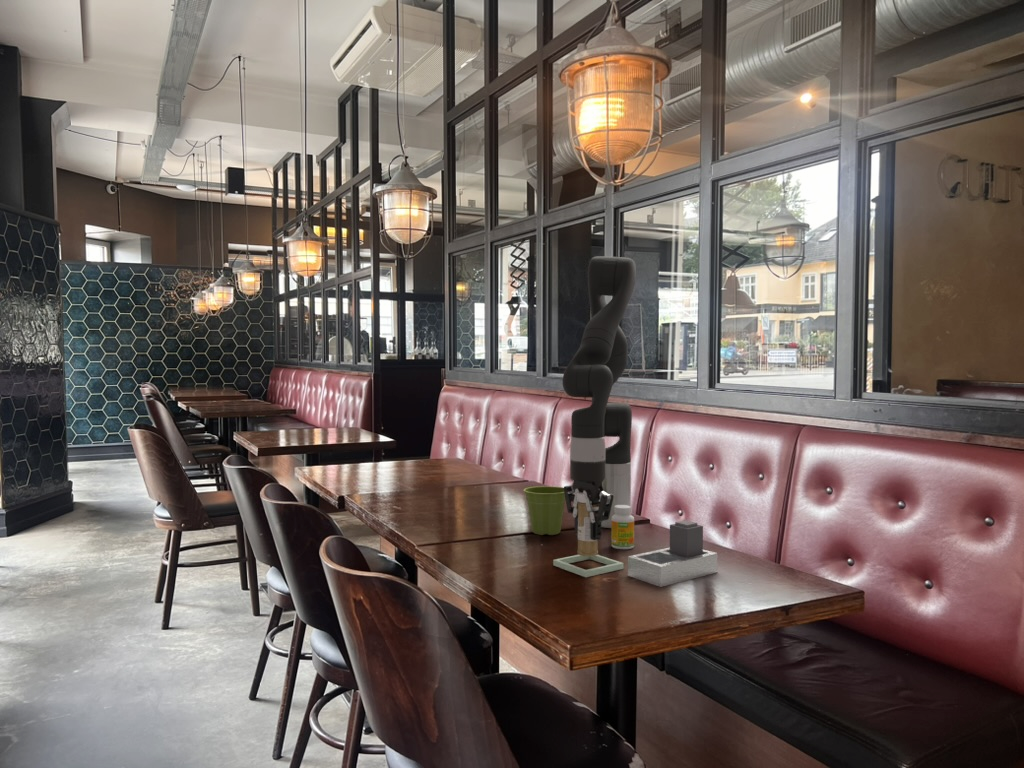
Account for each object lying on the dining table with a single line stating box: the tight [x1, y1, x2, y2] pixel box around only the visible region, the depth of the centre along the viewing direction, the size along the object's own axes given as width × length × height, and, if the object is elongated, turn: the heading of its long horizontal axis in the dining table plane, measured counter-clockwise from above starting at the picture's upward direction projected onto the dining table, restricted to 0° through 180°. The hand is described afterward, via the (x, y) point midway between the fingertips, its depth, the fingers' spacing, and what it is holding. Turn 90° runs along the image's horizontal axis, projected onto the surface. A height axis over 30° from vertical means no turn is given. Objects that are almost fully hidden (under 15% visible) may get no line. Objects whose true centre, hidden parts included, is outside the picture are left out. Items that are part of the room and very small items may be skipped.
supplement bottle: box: [610, 505, 635, 550], centre depth 166 cm, size 5×5×10 cm
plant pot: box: [523, 485, 566, 536], centre depth 181 cm, size 12×12×11 cm
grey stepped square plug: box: [669, 519, 704, 558], centre depth 147 cm, size 5×5×10 cm
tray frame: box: [552, 554, 624, 578], centre depth 150 cm, size 11×11×1 cm
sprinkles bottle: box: [576, 493, 599, 556], centre depth 150 cm, size 5×5×13 cm
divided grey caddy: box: [627, 546, 718, 588], centre depth 144 cm, size 9×17×4 cm, turn 125°
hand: (587, 536), depth 150 cm, fingers closed on sprinkles bottle, 4 cm apart
